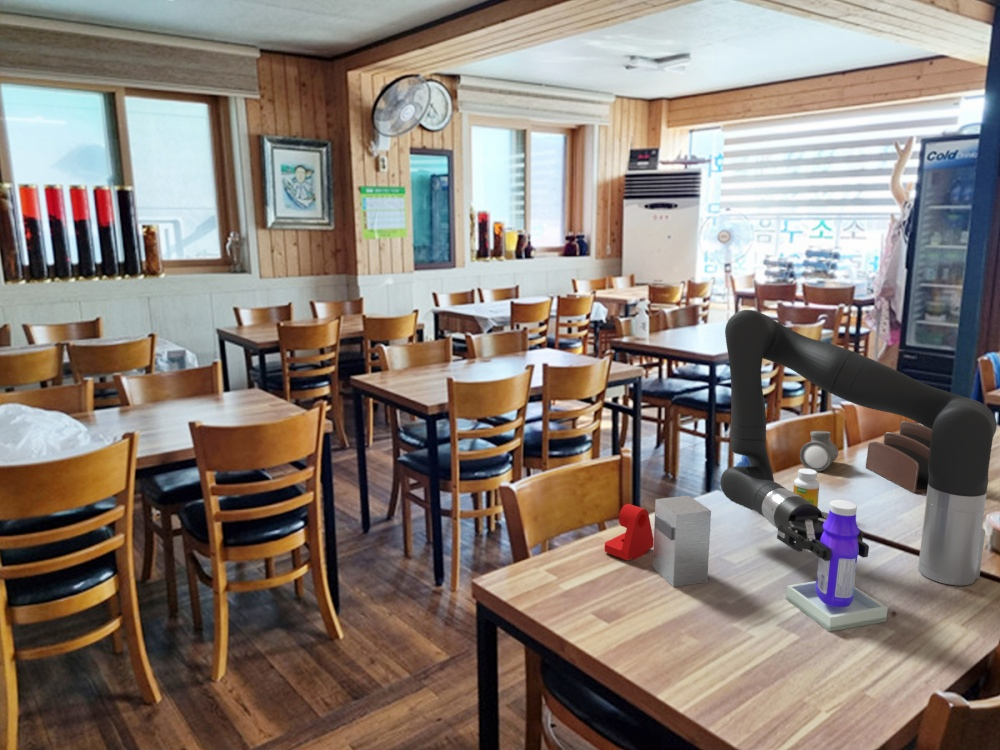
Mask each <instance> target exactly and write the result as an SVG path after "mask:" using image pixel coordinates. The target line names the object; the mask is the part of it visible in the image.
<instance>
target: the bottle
mask: <svg viewBox="0 0 1000 750" xmlns="http://www.w3.org/2000/svg"><path fill="white" fill-rule="evenodd" d="M857 508H858V506H857V505H856V504H855V503H854V502H851V501H849V500H843V499H834V500H831V501H830V503H829V507H828V509H829V511H828V512H829V513H828V516H827V518H826V521H825V522H824V523H823V529H824V532H823V534H822V536H821V539H820V541H821V542H822V543H823V544H825V545H826V546H828V547H829V548H830V549H831V559H830V561H824V560H823V559H822V558H820V557H818V561H817V562H818V563H817V570H816V571H817V572H816V580H815V581H816V592H817V595H818V597H819V598H820V600H821V601H822V602H823V603H825V604H827V605H830V606H837V607H847V606H850V604H851V603H852V600H853V597H854V596H853V593H854V587H855V584H856V583H855V582H856V581H855V580H856V574H857V573H856V572H857V565H858V556H859V555H858V552H859V549H858V540H857V536H858V535H859V532H860V531H859V529H860V528H859V526H858V523H857V510H858V509H857Z"/></svg>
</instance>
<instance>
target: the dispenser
mask: <svg viewBox="0 0 1000 750" xmlns="http://www.w3.org/2000/svg"><path fill="white" fill-rule="evenodd" d="M654 500H655V502H654V503H655V505H654V507H655V508H654V529H653V532H654V533H653V539H654V543H653V555H652V558H653V559H652V568H653V569H654V571H656V572H657V573H658V574H659V575H660V576H661V577H662V578H663V579H664V580H665V581H666V582H668V584H669V585H670V586H672V587H673V588H675V587H682V586H688V585H695V584H702V583H708V579H709V578H708V575H709V574H708V573H709V556H710V539H711V537H710V536H711V520H712V510H711V509H709V508H708V507H707V506H705V505H704V504H702V503H700V502H699V501H698V500H696V499H694V498H693V497H692V496H690V495H689V494H688V495H680V496H672V497H663V498H655V499H654Z"/></svg>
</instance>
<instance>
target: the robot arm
mask: <svg viewBox="0 0 1000 750" xmlns="http://www.w3.org/2000/svg"><path fill="white" fill-rule="evenodd" d="M724 332H725V333H724V334H725V335H724V336H725V343H726V344H725V345H726V349H727V350H726V351H727V356H728V362H729V364H728V365H729V372H730V373H729V375H730V388H731V389H730V391H731V392H730V393H731V398H730V399H731V404H730V405H731V410H730V411H731V412H730V413H731V415H730V449H731V452H733V453H734V454H736V455H739V456H743V455H744V456H747V457H748V459H749V461H750V464H751V466H748V467H741V466H736V465H735V466H730V467H728V468H727V469H725V470H724V471H723V472H722V474H721V476H720V480H719V481H720V482H719V484H720V488H721V491H722V493H723V494H724V496H725V497H726V498H727V499H729V500H730V501H731V502H733V503H734V504H736V505H739V506H742V507H744V508H747V509H750V510H753V511H755V512H756V513H758V514H759V515H760V516H762V518H764V519H766V520H767V521H768V522H769V524H770V525H772V526H773V528H775V529H777V533H776V534H777V535H776V539H778V540H779V541H780V542H781V543H783V544H785V545H786V546H788V547H789V548H791V549H793V550H794V551H796V552H803V550H806V552H808V553H813V554H814V555H816V556H817V557H818V558H819V557H820V558H822V559H823V560H824V561H830V559H831V549H830V548H829V547H828V546H826V545H825V544H823V543H822V542H821V541H820V539H821V536H822V534H823V532H824V529H823V523H824V522H825V521H826V520H827V518H825V516H824V515H823V512H822V511H821V509H820V508H819V507H818V508H817V507H816V506H815V505H813V504H812V503H810V502H808V501H807V500H805V499H804V498H802V497H801V496H799V495H798V494H796V493H794V492H793V491H792V490H789V489H787V488H786V487H785V486H783V485H782V484H780V483H778V482H776V481H775V479H774V474H773V471H772V467H771V463H770V459H769V458H770V457H769V453H768V449H767V445H766V444H767V409H766V404H765V397H764V392H763V383H762V382H763V380H762V366H763V360H765V361H769V362H772V363H775V364H778V365H781V366H782V367H785V368H787V369H790V370H791V371H793V372H795V373H796V374H798V375H799V376H801V377H803V378H804V379H806V380H807V381H808V382H810V383H812V384H813V385H814V386H816V387H817V388H820V389H822V390H823V391H826V392H827V393H829V394H831V395H833V396H836V397H839V398H840V399H843V400H844V401H847V402H849V403H852V404H854V405H857V406H859V407H863V408H867V409H872V410H876V411H880V412H884V413H889V414H894V415H898V416H901V417H905V418H907V419H909V420H912V421H914V422H915V423H917V424H920V425H923V426H926V427H928V428H929V429H931V430H932V433H931V442H930V452H929V463H928V472H929V479H928V488H927V493H926V497H925V507H924V515H923V525H922V531H921V532H922V533H921V540H920V548H919V549H920V550H919V557H918V566H917V568H918V569H917V570H918V571H919V573H920V574H921V575H922V576H924V577H926V578H928V579H930V580H932V581H934V582H937V583H938V582H939V583H942V584H946V585H951V586H969V585H972V584H974V583H975V581H976V580H977V579H980V575H981V567H982V560H983V559H982V558H983V554H984V544H985V540H986V539H985V537H986V531H985V529H984V528H983V523H984V517H985V516H984V515H985V514H984V513H985V508H986V507H985V506H986V500H987V492H988V486H989V485H988V484H989V469H990V462H991V461H990V460H991V455H992V453H991V452H992V445H993V441H994V439H993V438H994V436H995V434H996V431H997V428H998V427H997V426H998V424H997V419H996V416H995V414H994V413H993V411H992V410H991V409H990V408H989V407H988V406H986V405H985V404H983V403H982V402H980V401H978V400H976V399H972V398H968V397H965V396H962V395H960V394H956V393H954V392H953V393H952V392H950V391H947V390H943V389H940V388H937V387H933V386H931V385H929V384H925V383H923V382H920V381H919V380H916V379H914V378H913V377H911V376H908V375H907V374H904V373H902V372H901V371H898V370H897V369H894V368H892V367H890V366H887V365H885V364H883V363H881V362H878V361H876V360H875V359H872V358H870V357H868V356H865V355H863V354H860V353H858V352H856V351H854V350H850V349H848V348H844V347H842V346H839V345H836V344H833V343H829V342H825V341H822V340H817V339H815V338H811V337H808V336H805V335H802V334H801V333H798V332H796V331H795V330H793V329H791V328H789V327H788V326H785V325H783V324H781V323H780V322H778V321H776V320H774V319H772V318H771V317H770V316H769V315H766V314H764V313H762V312H759V311H757V310H753V309H742V310H740V311H739V310H738V311H737V312H736V313H734V314H733V315H732V316H730V318H729V319H728V321H727V323H726V326H725V329H724ZM859 531H860V532H859V535H858V536H857V540H858V549H859V552H858V556H860V557H861V558H863V559H864V558H868V557H869V552H870V550H869V549H870V546H869V544H867V543H865V542H864V540H863V539H864V531H863V530H861V528H859Z"/></svg>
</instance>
